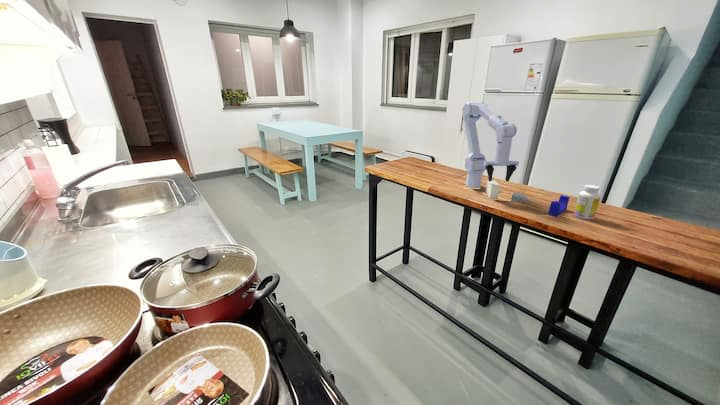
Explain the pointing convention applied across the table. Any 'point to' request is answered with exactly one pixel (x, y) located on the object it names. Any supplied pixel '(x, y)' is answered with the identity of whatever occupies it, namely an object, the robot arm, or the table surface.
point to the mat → (519, 198)
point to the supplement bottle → (587, 202)
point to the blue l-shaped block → (558, 206)
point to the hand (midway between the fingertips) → (498, 180)
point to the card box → (492, 189)
